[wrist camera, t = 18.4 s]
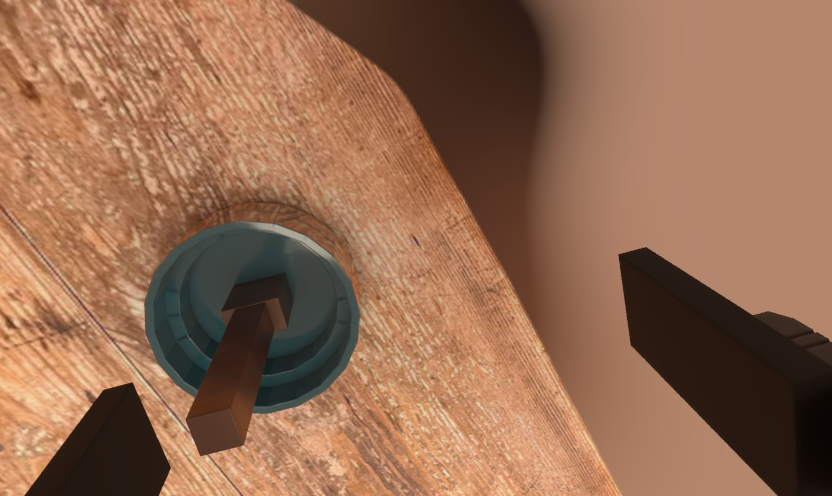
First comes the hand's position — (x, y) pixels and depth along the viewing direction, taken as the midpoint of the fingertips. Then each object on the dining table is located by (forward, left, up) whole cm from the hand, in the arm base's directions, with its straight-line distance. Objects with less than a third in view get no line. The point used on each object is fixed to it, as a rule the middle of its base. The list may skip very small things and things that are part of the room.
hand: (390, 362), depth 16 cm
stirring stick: (+10, +8, -30) cm, 32 cm away
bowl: (+10, +8, -30) cm, 33 cm away
